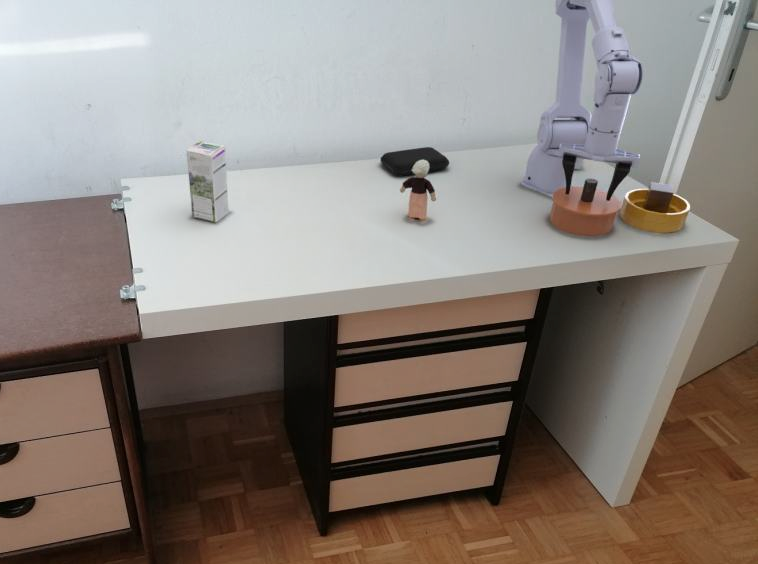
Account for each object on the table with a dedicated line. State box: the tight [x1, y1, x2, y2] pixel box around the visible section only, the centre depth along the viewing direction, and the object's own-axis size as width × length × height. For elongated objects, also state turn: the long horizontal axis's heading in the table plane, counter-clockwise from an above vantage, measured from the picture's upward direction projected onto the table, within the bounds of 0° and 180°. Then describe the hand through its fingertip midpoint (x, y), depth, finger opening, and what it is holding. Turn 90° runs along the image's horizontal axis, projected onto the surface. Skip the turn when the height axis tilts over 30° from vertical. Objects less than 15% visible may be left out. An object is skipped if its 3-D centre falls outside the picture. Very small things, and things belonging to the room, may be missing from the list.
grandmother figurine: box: [399, 160, 437, 222], centre depth 145 cm, size 8×4×13 cm, turn 71°
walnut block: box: [643, 181, 674, 213], centre depth 147 cm, size 4×4×7 cm
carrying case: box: [379, 146, 450, 177], centre depth 171 cm, size 11×3×15 cm
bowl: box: [619, 188, 691, 234], centre depth 148 cm, size 12×12×4 cm
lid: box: [551, 178, 622, 217], centre depth 144 cm, size 13×13×5 cm
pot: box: [549, 201, 617, 237], centre depth 146 cm, size 12×12×5 cm
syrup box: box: [186, 141, 230, 223], centre depth 145 cm, size 6×6×14 cm
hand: (587, 195), depth 144 cm, fingers open, 7 cm apart
